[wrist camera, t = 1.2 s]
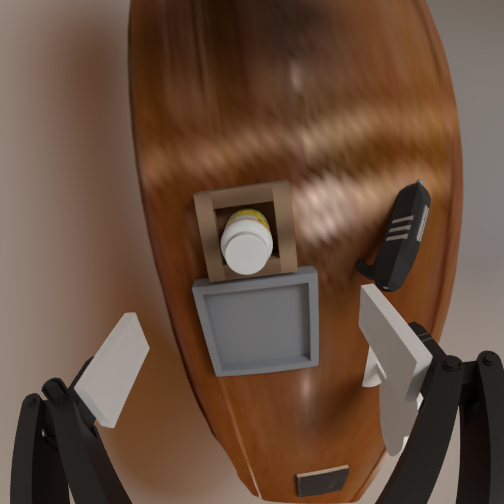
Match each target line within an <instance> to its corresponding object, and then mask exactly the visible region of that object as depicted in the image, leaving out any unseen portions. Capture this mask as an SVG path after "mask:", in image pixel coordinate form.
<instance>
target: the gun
mask: <svg viewBox="0 0 504 504" xmlns="http://www.w3.org/2000/svg"><path fill="white" fill-rule="evenodd" d="M423 186H424V182H423V180H421V179H418V180H417V182H416V183H415V184H412V185H409V186H406V187H405V188H403V189H402V190H401V191H400V192H399V195H398V198H397V201H396V204H395V208H394V211H393V214H392V217H391V220H390V222H389V225H388V228H387V231H386V234H385V237H384V239H383V242H382V245H381V247H380V249H379V251H378V254H377V256H376V259H375V261H374V264H373V265H369V266H368V265H367V264H365V263H364V262H363V261H362V260H361V259H359V260H358V262H357V265H356V267H357V270H358V271H359V272H360V273H361V274H363V275H364V276H365V277H367V278H368V279H371V280H374V281H375V283H376V286H377V287H378V288H379V289H381V290H382V291H386V292H393V291H395V290H397V289H399V288H401V286H402V284H403V283H404V281H405V279H406V277H407V275H408V274H409V272H410V270H411V268H412V265H413V263H414V260H415V258H416V255H417V252H418V249H419V246H420V242H421V239H422V235H423V232H424V228H425V224H426V220H427V216H428V212H429V208H430V201H431V198H430V195H429V193H428V191H427V190H426V189H425V188H424V187H423Z"/></svg>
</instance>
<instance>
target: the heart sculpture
mask: <svg viewBox="0 0 504 504" xmlns="http://www.w3.org/2000/svg"><path fill="white" fill-rule="evenodd" d="M378 384H379V385H380V422H381V429H382V436H383V439H384V442H385V446H386V448H387V451H388V453H389V455H390V456H396V455H398V454H401V453H402V452H403V449H404V447H405V445H406V443H407V440H408V438H409V435H410V433H411V430H412V428H413V425H414V423H415V420H416V417H417V414H418V412H417V411H418V409H419V407H420V405H421V402H422V400H423V397H422V395H421V393H419V396H418V398H417V400H416V401H414V402H412V403H409V404H406V405H403V406H402V405H401V403H400V401H399V399H398V397H397V395H396V393H395V391H394V389H393V387H392V385H391V384H390V382H389V380H388V378H387V376H386V374H385V372H384V370H383V368H382V367H381V365H380V363H379V361H378V359H377V357H376V356H375V354H374V352H373V350H372V348H371V347H369V353H368V358H367V364H366V369H365V374H364V379H363V384H362V386H364V387H373V386H376V385H378Z"/></svg>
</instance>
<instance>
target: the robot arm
mask: <svg viewBox="0 0 504 504" xmlns="http://www.w3.org/2000/svg"><path fill="white" fill-rule="evenodd" d="M359 327H360V329H361V331H362V332H363V334H364V336H365V338H366V339H367V341H368V343H369V345H370V347H371V348H372V350H373V352H374V354H375V356H376V357H377V359H378V361H379V363H380V365H381V367H382V368H383V370H384V372H385V374H386V376H387V378H388V380H389V382H390V384H391V385H392V387H393V389H394V391H395V393H396V395H397V397H398V399H399V401H400V403H401V405H402V406H403V405H406V404H409V403H412V402H414V401H416V400H417V398H418V396H419V393H421V395H422V397H423V400H422V402H421V405H420V407H419V409H418V411H417V412H418V414H417V417H416V420H415V423H414V425H413V428H412V430H411V433H410V435H409V438H408V440H407V443H406V445H405V447H404V449H403V452H402V454H401V456H400V458H399V461H398V462H397V465H396V467H395V469H394V471H393V473H392V475H391V476H390V479H389V480H388V482H387V484H386V486H385V488H384V489H383V491H382V493H381V495H380V496H379V498H378V500H377V501H376V503H375V504H427V502H428V500H429V497H430V495H431V493H432V490H433V488H434V486H435V483H436V481H437V478H438V475H439V473H440V470H441V467H442V464H443V461H444V458H445V455H446V452H447V449H448V445H449V442H450V438H451V434H452V431H453V427H454V423H455V419H456V414H457V409H458V406H459V412H460V468H459V480H458V490H457V498H456V504H504V369H503V365H502V362H501V359H500V358H499V356H498V355H497V354H496V353H494V352H492V351H483V352H481V353H480V354H479V355H478V357H477V360H476V361H470V362H462V361H461V360H460V359H459V358H458V357H455V356H451V355H446V354H445V353H444V351H443V350H442V349H441V348H440V346H439V345H438V344H437V343H436V342H435V340H434V339H432V337H431V336H430V334H428V332H427V331H426V330H425V329H424V327H423V326H421V325H420V324H418V323H416V322H411V323H406V322H405V321H404V319H403V318H402V317H401V316H400V314H399V313H398V312H397V311H396V310H395V308H394V307H393V306H392V305H391V304H390V303H389V301H388V300H387V299H386V298H385V297H384V296H383V294H382V293H381V292H380V291H379V290H378V289H377V287H376V286H375V285H374V284H368V285H362V286H361V296H360V314H359ZM149 349H150V348H149V346H148V344H147V341H146V339H145V336H144V334H143V331H142V329H141V326H140V324H139V321H138V318H137V315H136V313H125V314H124V315H123V316H122V318H121V319H120V321H119V322H118V323H117V325H116V326H115V327H114V329H113V330H112V332H111V333H110V335H109V336H108V337H107V339H106V340H105V342H104V343H103V345H102V346H101V348H100V349H99V350H98V352H97V353H96V355H95V356H93V357H91V358H90V359H89V360H87V361H86V362H85V364H84V366H83V367H82V369H81V370H80V371H79V373H78V375H77V376H76V377H75V379H74V380H73V382H72V383H71V385H70V387H69V388H68V389H67V387H66V386H65V384H64V383H63V381H62V380H61V379H60V378H52V379H50V380H48V381H47V382H46V383H45V384H44V385H43V387H42V392H43V393H44V395H45V396H46V398H47V399H48V400H42V398H41V397H40V396H39V395H38V394H36V393H33V394H30V395H28V396H26V398H25V399H24V401H23V403H22V407H21V411H20V416H19V421H18V426H17V431H16V437H15V443H14V451H13V459H12V470H11V485H10V486H11V487H10V504H70V499H69V488H68V484H69V487H70V490H71V493H72V496H73V499H74V501H75V504H132V502H131V500H130V499H129V497H128V495H127V493H126V491H125V490H124V488H123V486H122V484H121V482H120V480H119V478H118V476H117V474H116V472H115V470H114V468H113V466H112V463H111V461H110V459H109V457H108V455H107V452H106V450H105V448H104V445H103V443H102V440H101V438H100V435H99V432H98V430H97V428H96V426H95V425H94V422H95V420H96V419H97V421H98V422H99V423H100V424H101V425H102V426H104V427H109V428H114V427H115V425H116V422H117V420H118V417H119V415H120V413H121V410H122V408H123V406H124V403H125V401H126V399H127V396H128V394H129V392H130V390H131V388H132V385H133V383H134V381H135V379H136V376H137V374H138V372H139V370H140V368H141V366H142V364H143V361H144V359H145V357H146V355H147V353H148V351H149ZM42 431H43V432H44V437H43V435H42Z"/></svg>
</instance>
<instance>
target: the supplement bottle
mask: <svg viewBox="0 0 504 504" xmlns="http://www.w3.org/2000/svg"><path fill="white" fill-rule="evenodd" d="M272 249H273V241H272V236H271V233H270V228H269V225H268V222H267V220H266V218H265V217H264V216H263V215H262V214H261V213H260V212H259V211H257V210H254V209H250V208H246V209H241V210H238V211H236V212H235V213H233V214H232V215H231V216H230V218H229V219H228V221H227V224H226V227H225V230H224V232H223V235H222V238H221V250H222V254H223V256H224V258H225V259H226V262H227V264H228V266H229V267H230V268H231V269H232V270H233V271H235V272H237V273H239V274H243V275H250V274H254V273H256V272H258V271H260V270H261V269H262V268H263V267H264V265H265V264H266V261H267V260H268V259H269V257H270V255H271V253H272Z"/></svg>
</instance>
